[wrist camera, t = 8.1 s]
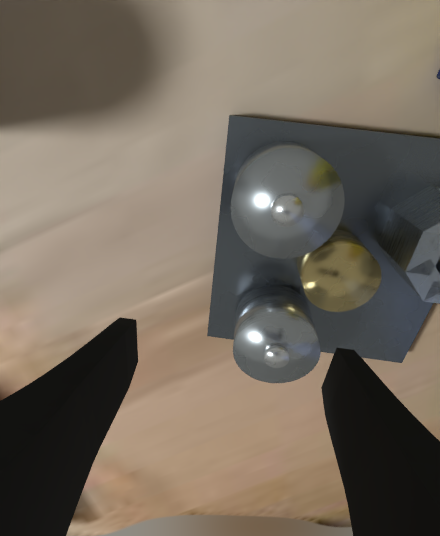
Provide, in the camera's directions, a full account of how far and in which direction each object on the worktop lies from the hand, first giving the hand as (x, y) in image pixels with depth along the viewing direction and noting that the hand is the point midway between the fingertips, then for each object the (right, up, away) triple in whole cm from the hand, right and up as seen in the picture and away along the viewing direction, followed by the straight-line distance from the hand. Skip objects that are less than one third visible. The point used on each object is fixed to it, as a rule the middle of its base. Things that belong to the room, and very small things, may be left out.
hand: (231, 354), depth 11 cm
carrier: (+6, +4, +8) cm, 11 cm away
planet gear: (+11, +5, +6) cm, 14 cm away
